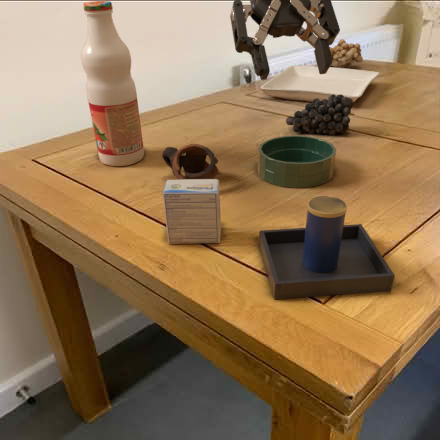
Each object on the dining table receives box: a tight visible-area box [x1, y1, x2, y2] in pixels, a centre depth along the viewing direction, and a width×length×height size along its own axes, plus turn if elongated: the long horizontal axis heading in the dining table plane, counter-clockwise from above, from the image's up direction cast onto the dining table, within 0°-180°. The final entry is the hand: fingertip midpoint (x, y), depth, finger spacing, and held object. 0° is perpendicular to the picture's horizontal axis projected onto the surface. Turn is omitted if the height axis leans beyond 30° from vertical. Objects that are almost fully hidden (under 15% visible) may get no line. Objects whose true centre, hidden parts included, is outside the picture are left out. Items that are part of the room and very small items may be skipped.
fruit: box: [285, 94, 356, 136], centre depth 105 cm, size 9×8×15 cm
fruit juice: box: [80, 0, 145, 167], centre depth 89 cm, size 9×9×28 cm
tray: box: [258, 223, 395, 300], centre depth 64 cm, size 15×13×2 cm
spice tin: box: [302, 195, 348, 273], centre depth 62 cm, size 5×5×9 cm
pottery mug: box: [161, 143, 221, 180], centre depth 86 cm, size 12×10×8 cm
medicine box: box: [162, 178, 222, 245], centre depth 69 cm, size 8×4×9 cm, turn 88°
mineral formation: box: [329, 38, 364, 68], centre depth 154 cm, size 8×13×15 cm
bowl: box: [257, 135, 337, 189], centre depth 88 cm, size 14×14×5 cm
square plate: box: [259, 65, 380, 103], centre depth 132 cm, size 27×27×4 cm
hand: (295, 73), depth 62 cm, fingers open, 8 cm apart
